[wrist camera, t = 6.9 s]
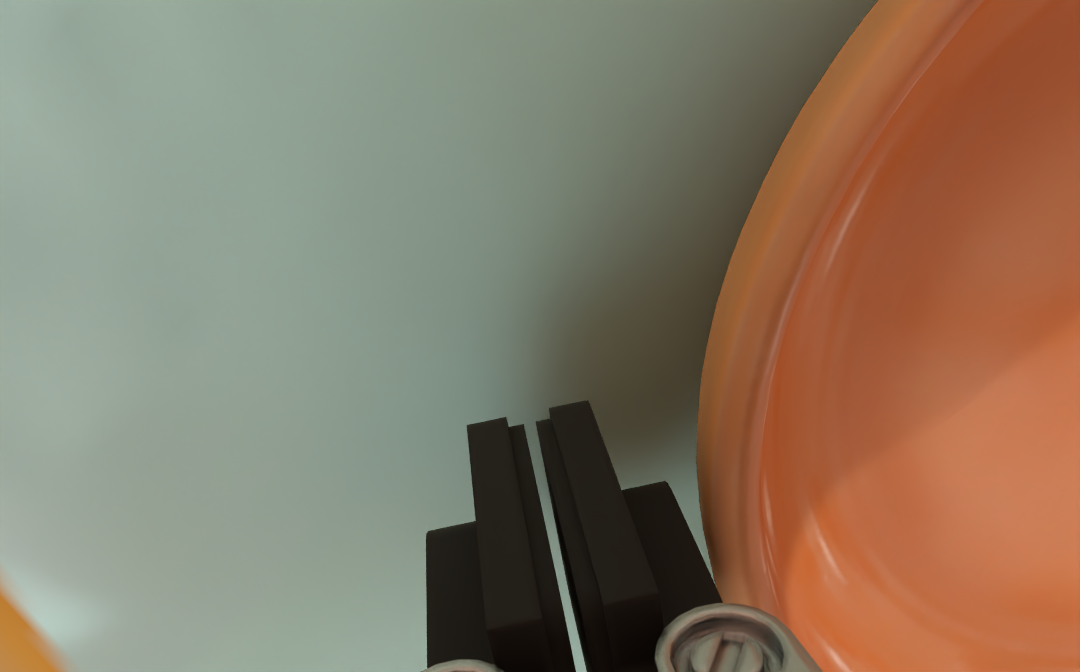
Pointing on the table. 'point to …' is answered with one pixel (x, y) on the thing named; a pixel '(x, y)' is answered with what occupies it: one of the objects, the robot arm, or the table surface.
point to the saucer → (910, 353)
